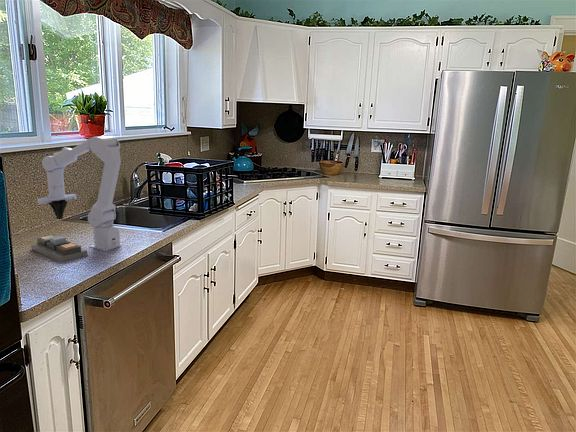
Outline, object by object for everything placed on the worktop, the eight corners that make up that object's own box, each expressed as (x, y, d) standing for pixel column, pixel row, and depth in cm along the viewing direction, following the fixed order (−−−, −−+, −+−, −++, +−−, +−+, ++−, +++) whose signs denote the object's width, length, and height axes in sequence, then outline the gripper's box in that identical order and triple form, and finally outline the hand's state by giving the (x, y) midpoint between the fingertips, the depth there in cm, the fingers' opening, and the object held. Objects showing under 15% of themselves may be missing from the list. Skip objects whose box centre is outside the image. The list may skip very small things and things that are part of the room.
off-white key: (56, 242, 164) (56, 237, 163) (46, 244, 161) (45, 239, 160) (51, 240, 166) (51, 235, 165) (41, 242, 163) (40, 237, 162)
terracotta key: (77, 250, 155) (76, 245, 155) (66, 253, 152) (65, 247, 152) (71, 248, 158) (71, 243, 157) (60, 250, 154) (60, 245, 154)
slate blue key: (66, 242, 159) (65, 237, 159) (55, 245, 156) (55, 239, 156) (61, 240, 161) (60, 235, 161) (50, 242, 158) (49, 237, 158)
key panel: (87, 255, 157) (86, 245, 156) (60, 262, 150) (59, 251, 149) (58, 243, 170) (57, 233, 169) (31, 249, 162) (30, 239, 161)
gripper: (69, 182, 176) (72, 213, 179) (32, 186, 164) (36, 220, 168) (78, 184, 172) (80, 216, 175) (40, 189, 160) (44, 223, 164)
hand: (59, 218), depth 171 cm, fingers closed
